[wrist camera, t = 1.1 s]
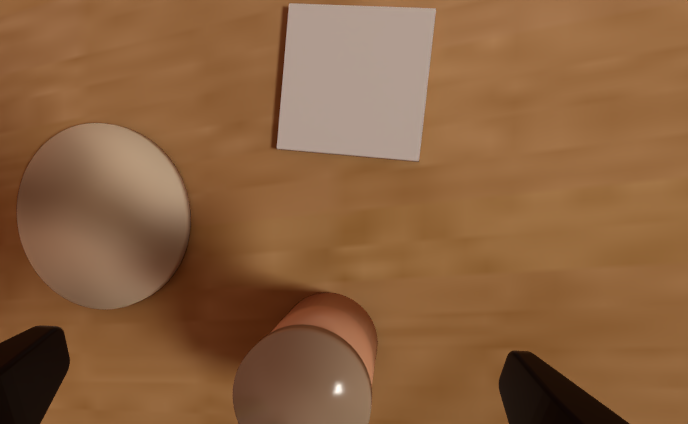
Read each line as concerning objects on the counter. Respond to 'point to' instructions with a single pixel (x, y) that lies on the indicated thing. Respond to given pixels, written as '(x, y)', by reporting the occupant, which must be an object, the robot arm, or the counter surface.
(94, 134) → the coaster
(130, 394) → the counter surface
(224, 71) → the counter surface
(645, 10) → the counter surface
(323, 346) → the spice jar
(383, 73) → the pad
